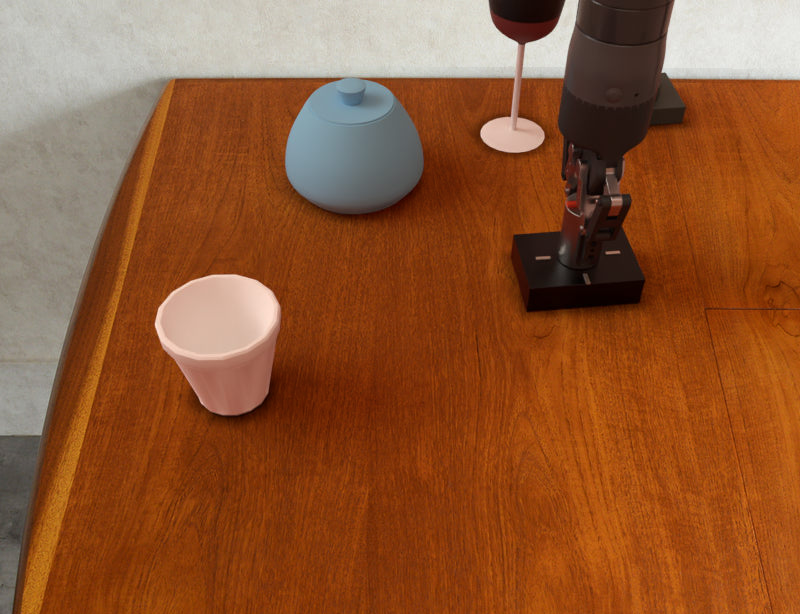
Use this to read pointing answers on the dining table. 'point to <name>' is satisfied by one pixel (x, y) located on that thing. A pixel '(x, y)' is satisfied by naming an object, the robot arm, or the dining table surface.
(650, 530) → the dining table surface
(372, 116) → the sugar bowl
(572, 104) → the robot arm
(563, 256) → the knob
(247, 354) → the cup
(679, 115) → the switch block
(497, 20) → the wineglass
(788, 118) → the dining table surface
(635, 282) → the panel
